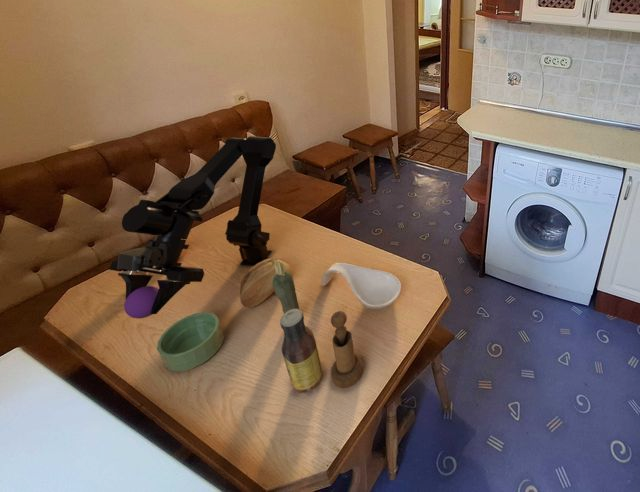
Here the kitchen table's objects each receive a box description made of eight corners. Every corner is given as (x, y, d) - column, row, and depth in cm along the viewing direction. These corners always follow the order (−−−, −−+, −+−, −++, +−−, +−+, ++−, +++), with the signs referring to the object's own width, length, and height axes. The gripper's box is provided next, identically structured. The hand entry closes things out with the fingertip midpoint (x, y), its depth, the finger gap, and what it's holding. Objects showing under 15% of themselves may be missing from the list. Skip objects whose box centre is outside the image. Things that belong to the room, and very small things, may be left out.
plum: (154, 297, 82) (144, 276, 79) (175, 304, 80) (165, 283, 78) (122, 320, 76) (111, 298, 74) (144, 328, 75) (133, 306, 72)
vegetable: (306, 318, 91) (292, 257, 83) (293, 332, 87) (278, 270, 79) (292, 313, 92) (277, 252, 84) (279, 327, 88) (262, 265, 80)
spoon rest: (409, 288, 101) (408, 269, 98) (387, 322, 90) (385, 301, 87) (339, 267, 107) (336, 248, 105) (311, 296, 97) (307, 276, 94)
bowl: (234, 329, 88) (229, 313, 85) (202, 374, 77) (195, 357, 75) (189, 327, 88) (183, 311, 86) (152, 372, 78) (143, 355, 75)
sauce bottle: (298, 366, 79) (281, 301, 71) (327, 365, 80) (313, 300, 72) (287, 397, 73) (267, 330, 65) (318, 395, 74) (302, 328, 66)
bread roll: (230, 306, 94) (222, 284, 90) (273, 267, 107) (268, 246, 104) (260, 316, 91) (253, 293, 88) (300, 274, 104) (295, 253, 101)
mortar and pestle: (354, 391, 75) (344, 331, 68) (326, 384, 76) (313, 325, 69) (368, 361, 81) (360, 304, 74) (342, 356, 82) (332, 298, 75)
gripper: (101, 227, 76) (61, 307, 70) (176, 239, 73) (141, 322, 68) (149, 234, 86) (118, 304, 81) (217, 244, 83) (190, 317, 78)
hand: (140, 311), depth 76 cm, fingers closed on plum, 6 cm apart
